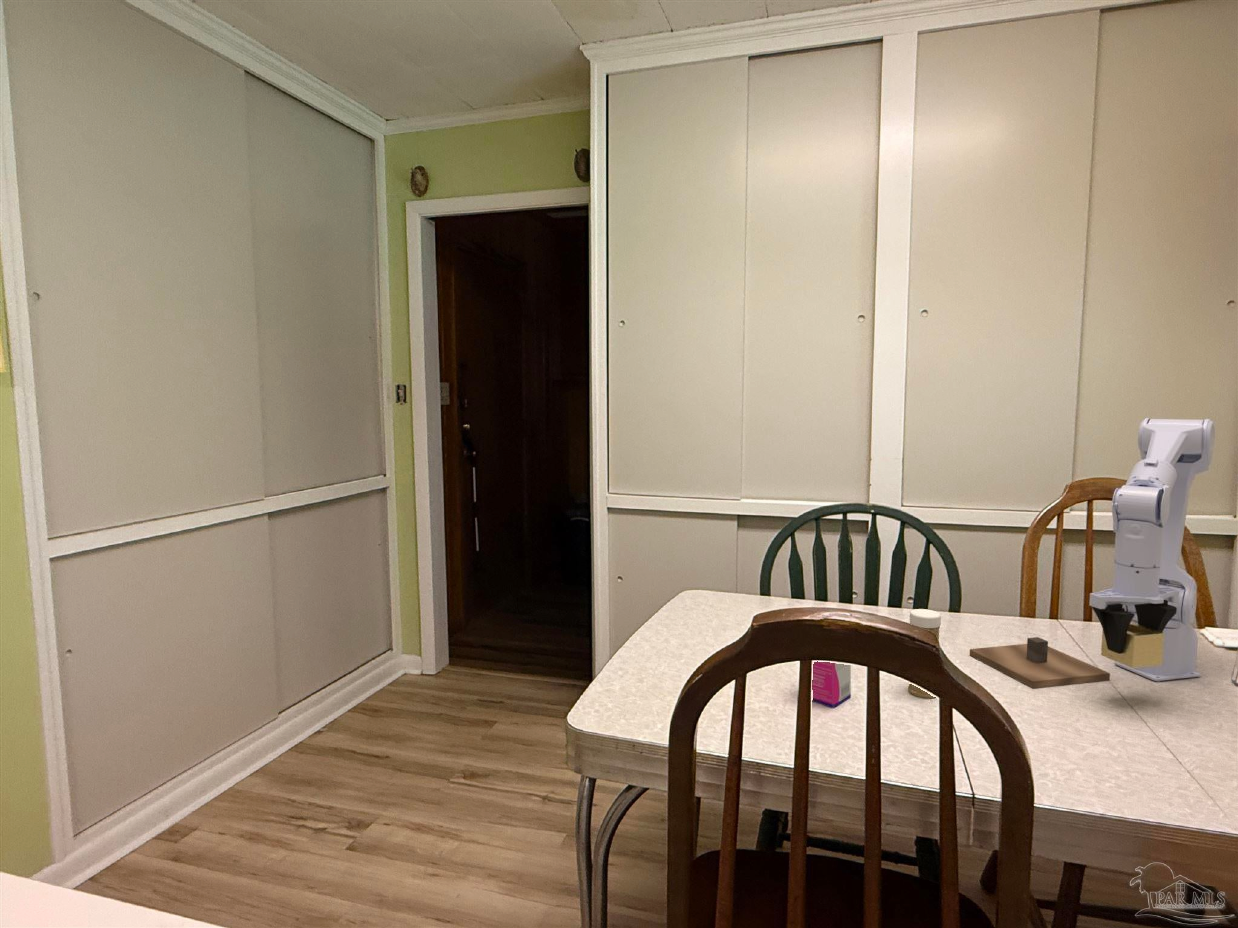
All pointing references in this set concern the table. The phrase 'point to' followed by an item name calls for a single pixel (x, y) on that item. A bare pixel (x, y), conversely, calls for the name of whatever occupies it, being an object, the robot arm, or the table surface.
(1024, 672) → the post stand
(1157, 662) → the small tan open box
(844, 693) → the supplement box
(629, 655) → the table surface
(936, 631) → the sprinkles bottle
